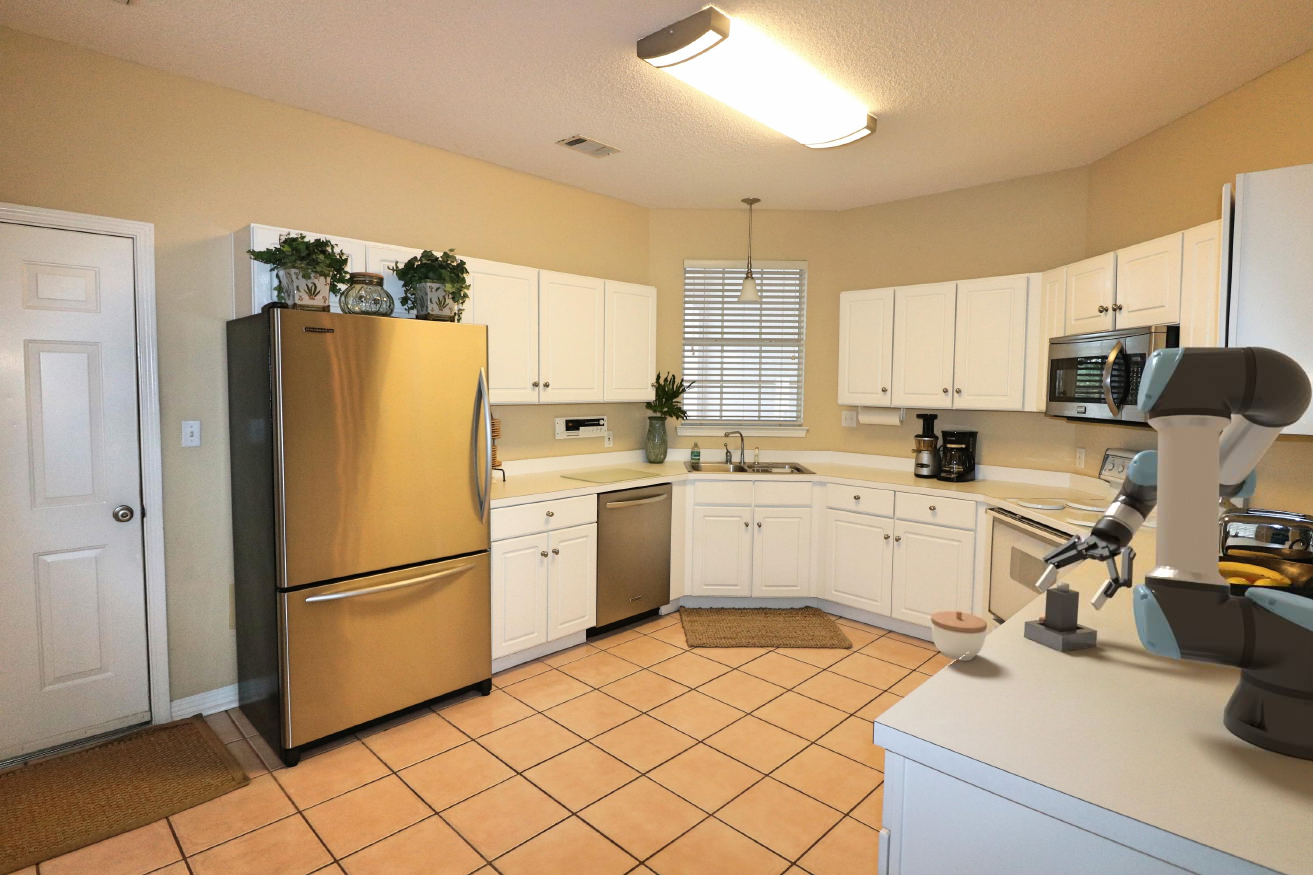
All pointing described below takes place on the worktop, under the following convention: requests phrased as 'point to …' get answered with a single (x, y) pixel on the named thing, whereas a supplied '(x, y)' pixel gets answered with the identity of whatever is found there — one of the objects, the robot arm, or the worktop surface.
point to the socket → (1060, 636)
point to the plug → (1061, 608)
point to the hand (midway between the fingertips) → (1065, 597)
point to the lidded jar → (958, 634)
